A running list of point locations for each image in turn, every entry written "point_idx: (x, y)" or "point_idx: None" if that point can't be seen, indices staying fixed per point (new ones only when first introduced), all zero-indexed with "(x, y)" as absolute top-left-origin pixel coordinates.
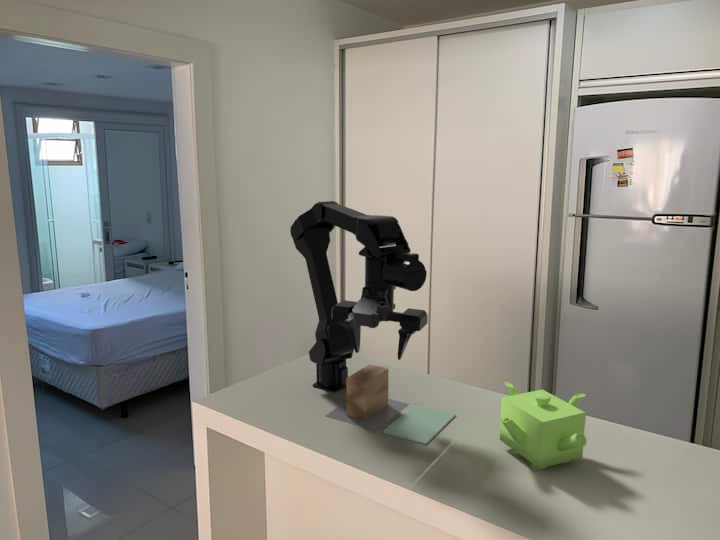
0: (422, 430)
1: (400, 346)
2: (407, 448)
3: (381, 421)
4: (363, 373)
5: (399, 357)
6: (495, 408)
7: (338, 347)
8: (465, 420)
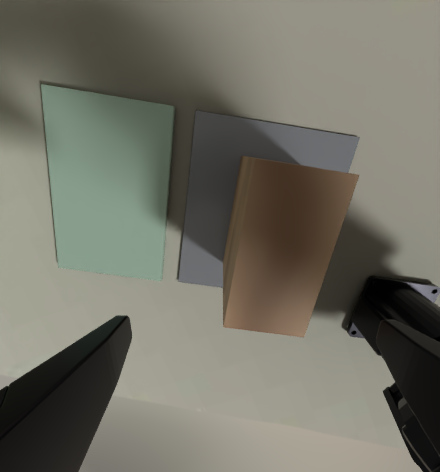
0: (83, 154)
1: (43, 380)
2: (80, 50)
3: (202, 168)
4: (299, 251)
5: (110, 321)
6: (11, 326)
7: None
8: (35, 254)
